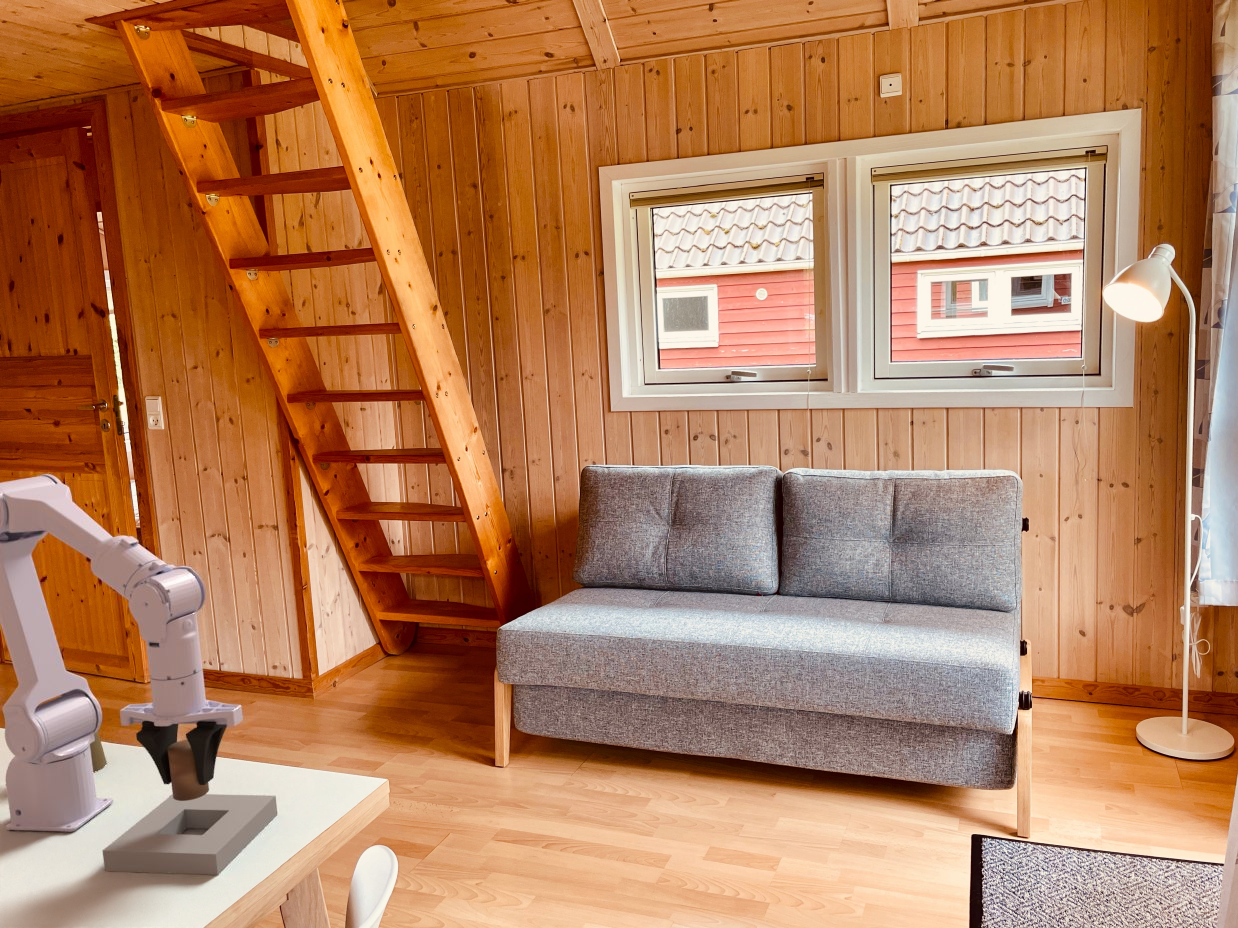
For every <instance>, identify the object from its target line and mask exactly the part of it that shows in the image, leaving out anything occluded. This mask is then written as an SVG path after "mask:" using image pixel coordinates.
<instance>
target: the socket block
mask: <svg viewBox="0 0 1238 928" xmlns="http://www.w3.org/2000/svg"><path fill="white" fill-rule="evenodd" d="M277 815H278V806H277V797H276V795H259V794H258V795H257V794H218V793H217V794H214V793H213V794H212V793H211V794H210V793H206V794H205V795H203V796H201V797H199V798H196V799H193V800H188V801H178V800H175V799H174V798H173V793H172V794H171V795H170V796H169V797H167V798H166V799H165V800H163V801H162V802H161V803H160V804H159V805H157V806H156V807H155V808H154V809H152V810H151V811H150V812H148V813H147V814H146V815H145V816H143V818H141V819H140V820H139V821H137V822H136V823H135V824H134V825H132V826H131V827H130V828H129V829H128V830H126V831H125V832H124V833H123V834H121V835H120V836H119V837H117V838H116V839H115V840H114V841H112V842H111V843H110V844H109V845H107V847H105V848H104V849H102V857H103V859H102V860H103V865H104V871H105V872H125V873H132V872H133V873H150V874H151V873H153V874H154V873H155V874H156V873H157V874H158V873H159V874H184V875H186V874H187V875H188V874H189V875H206V876H207V875H210V876H213V875H215V876H219V875H220V873H221V872H222V871H224V869H226V867H227V866H228V865H229V864H230V863H232V861H233V860H234V859H236V857H237V856H239V855H240V853H241V852H242V851H243V850H244V849H245V848H246V847H247V846H248V845H249V844H250V843H251V842H252V841H253V840H254V839H255V838H256V837H257V836H258V835H259V834H260V833H261V832H262V831H263V830H264V829H265V828H266V827H267V826H268V824H270V823H271V822H272V820H273V819H275V818H276V817H277ZM186 829H202V830H203V829H207V830H206V831H205V832H204V833H203V834H183V832H184V831H185V830H186Z"/></svg>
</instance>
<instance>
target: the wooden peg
mask: <svg viewBox="0 0 1238 928" xmlns="http://www.w3.org/2000/svg"><path fill="white" fill-rule="evenodd" d="M168 758H169V766H170V775H171V783H170V784H171V789H172V791H171V792H172V794H173V798H174V799H175V800H178V801H188V800H193V799H196V798H199V797H201V796H203V795H205V794H208V792H209V791H210V787H209V782H208V783H207V784H206V785H199V782H198V779H197V773H196V765H195V759H194V755H193V752H192V749H191V746H190V744H189V742H188V740H187V738H186V739H183V740H178V741H177V742H176V743H174V744H172V745H170V746H169V747H168Z"/></svg>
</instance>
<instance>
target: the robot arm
mask: <svg viewBox="0 0 1238 928" xmlns="http://www.w3.org/2000/svg"><path fill="white" fill-rule="evenodd" d="M48 534H49V535H52V536H53V537H55V538H56V539H58V540H59V541H61V542H63V543H64V544H66V545H68V546H69V547H71V548H72V549H74V550H76V551H77V552H78V553H80V554H82V555H84V557H87V558H88V559H89V560H90V570H91V572H92V574H93V575H94V576H95V577H97V578H98V579H99V580H101V581H102V582H103V583H105V584H106V585H108V586H109V587H110V588H112V589H113V590H114V591H116V593H117V594H119V595H121V596H122V597H123V598H125V599H126V600H127V601H128V609H129V611H130V614H131V616H132V617H133V619H134V620H135V621H136V623H137V626H138V629H139V630H138V631H139V635H140V637H141V638H142V639H141V640H143V641H144V642H145V648H146V655H147V663H148V675H149V682H150V691H151V698H152V702H145V703H134V704H133V703H132V704H131V703H130V704H128V705H126V706H124V707H123V708H121V709H120V710H119V716H120V725H121V726H122V727H123V726H125V727H126V726H128V727H129V726H131V725H132V724H141V728H140V730H139V731H138V732H137V733H136V736H135V737H136V740H137V742H138V743H139V744H140V745H141V746H142V747H143V748H144V749H145V751H146V752H147V753H148V754H149V755H150V757H151V759H152V761H153V763H154V764H155V767H156V769H157V771H158V774H159V775H160V777H161V780H162V783H163V785H170V784H171V775H170V766H169V758H168V747H169V746H170V745H172V744H174V743H176V742H178V731H179V726H180V725H196V727H193V728H192V729H190V731H188V732H187V733H186V734H185V738H186V739H187V740H188V742H189V744H190V746H191V749H192V752H193V755H194V759H195V765H196V773H197V779H198V782H199V785H206V784H207V783H208V784H209V782H210V781H211V780H213V779H214V776H215V769H216V768H215V767H216V762H217V761H216V760H217V756H218V752H219V749H220V748H219V747H220V744H221V743H222V740H223V736H224V733H225V731H226V729H227V727H229V728H231V727H232V728H234V727H236V726H237V725H239V724H240V723H241V722H243V720H244V719H243V718H244V716H243V709H242V708H243V707H242V705H241V704H229V703H225V702H219V701H215V700H211V699H210V700H209V699H206V689H205V679H204V669H203V660H202V659H203V658H202V653H201V652H202V651H201V643H200V633H199V625H198V614H197V612H200V610H201V609H202V608H203V607H204V605H205V602H206V597H207V595H206V594H207V593H206V587H205V583H204V582H203V579H202V577H200V575H199V574H198V573H197V572H196V571H195V570H194V569H193V568H192V567H190V566H187V565H180V566H175V564H168V563H166V562H165V561H163V560H162V559H160V558H159V557H158V556H156V555H154V554H153V553H152V552H151V551H149V550H148V549H146V548H145V547H144V546H142V545H141V544H140V543H139V539H137V538H135V537H134V536H131V535H130V536H129V535H117V536H114V537H113V536H112V535H111V534H110V533H109V532H108V531H106V529H104V527H102V526H101V525H100V524H99V523H97V521H95V520H94V519H93V518H91V516H89V515H88V513H86V512H85V511H84V510H83V509H82V508H81V507H79V506H78V505H77V504H76V503H75V502H74V501H73V497H72V492H71V488H70V487H69V486H68V485H66V484H64V483H63V482H62V481H61V480H60V479H59V478H57V476H55V475H53V474H49V473H44V474H39V475H37V476H32V477H26V478H21V479H15V480H9V481H2V482H0V627H1V631H2V633H3V636H4V640H5V643H6V646H7V649H8V652H9V656H10V660H11V662H12V666H13V670H14V674H15V675H16V679H17V682H18V685H17V687H16V689H15V690H14V691H13V692H12V693H11V695H10V696H9V698H8V699H7V700H6V701H5V703H4V705H2V708H1V710H2V713H3V716H4V724H5V727H4V739H5V743H6V746H7V747H8V750H9V752H11V753H12V755H13V757H12V758H11V760H10V762H9V763H8V765H7V769H6V771H5V772H6V773H5V786H6V788H5V789H6V793H7V794H6V795H7V801H8V810H9V817H10V823H9V824H7V825H6V830H8V831H11V830H13V831H38V832H39V831H40V832H42V831H43V832H74V831H76V830H78V829H79V828H80V827H82V826H83V825H85V823H87V822H88V821H90V820H91V819H93V818H94V817H95V816H96V815H98V814H99V813H101V812H102V811H103V810H105V809H106V808H108V806H110V805H111V804H113V802H114V799H113V798H109V797H108V798H104V797H97V791H96V782H95V775H94V773H93V766H92V758H91V750H90V744H91V743H92V742H94V741H95V738H94V733H95V732H97V731H98V732H99V730H100V728H101V725H102V722H103V711H102V707H101V705H100V703H99V701H98V699H97V698H96V697H95V695H94V694H93V693H92V690H91V688H90V687H89V683H88V680H87V679H86V678H85V677H83V676H80V675H78V674H76V673H72V672H70V671H68V670H66V666H65V663H64V660H63V657H62V656H63V655H62V653H61V650H60V646H59V644H58V640H57V637H56V634H55V630H54V626H53V623H52V621H51V617H50V614H49V613H50V612H49V611H48V606H47V604H46V600H45V597H44V593H43V590H42V587H41V583H40V580H39V578H38V574H37V570H36V566H35V563H34V560H33V557H32V553H33V551H34V550H35V548H36V546H37V544H38V543H39V541H41V540H43V539H44V538H45V537H46V535H48ZM51 699H52V700H51ZM48 700H49V701H48ZM43 702H44V703H43Z"/></svg>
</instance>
